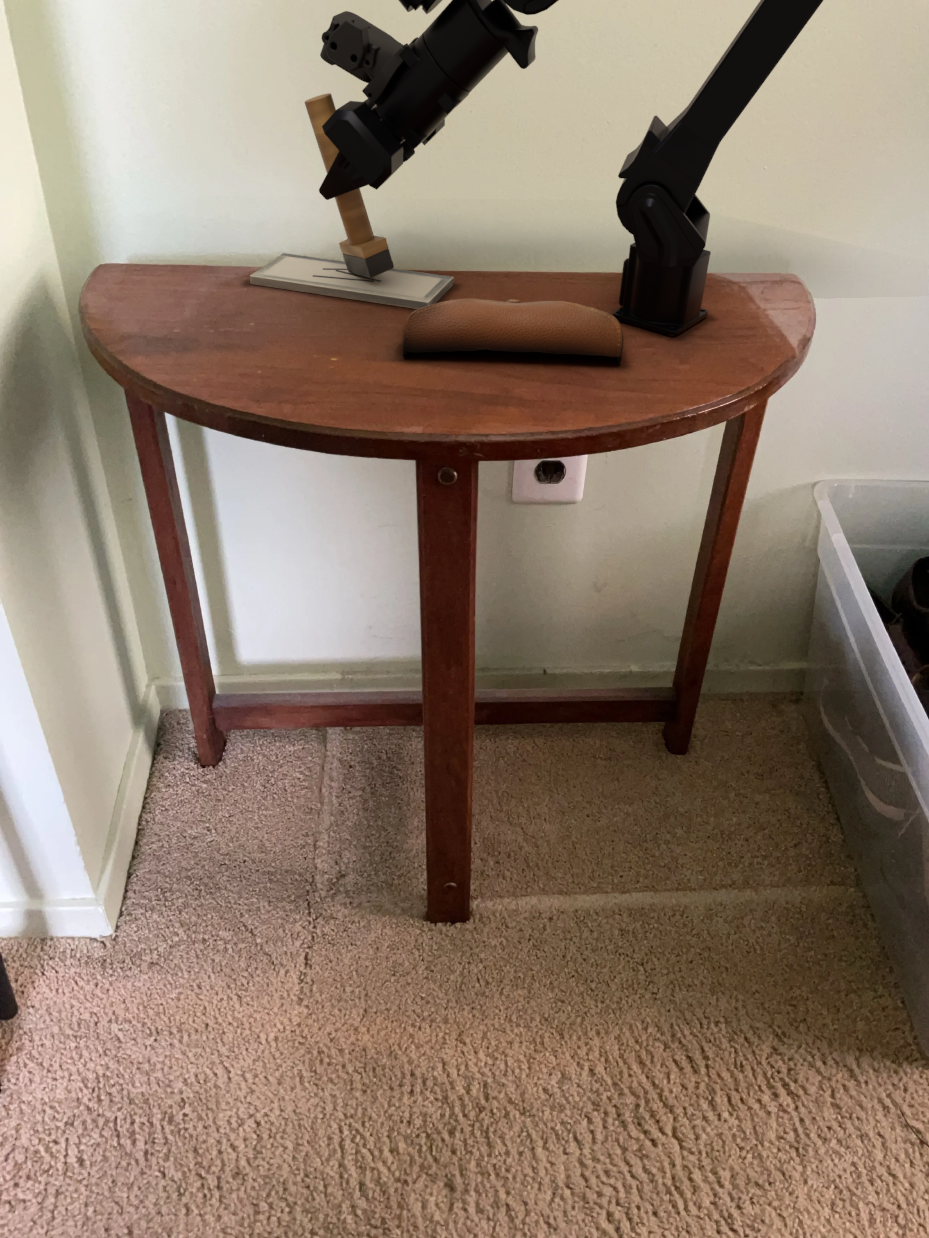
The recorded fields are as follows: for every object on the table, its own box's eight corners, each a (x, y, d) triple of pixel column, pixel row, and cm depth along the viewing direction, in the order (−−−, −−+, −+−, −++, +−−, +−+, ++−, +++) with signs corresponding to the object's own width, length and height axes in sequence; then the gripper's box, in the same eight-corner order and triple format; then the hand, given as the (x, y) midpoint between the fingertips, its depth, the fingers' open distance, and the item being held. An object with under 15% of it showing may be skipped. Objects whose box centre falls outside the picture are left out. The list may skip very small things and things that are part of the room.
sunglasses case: (613, 322, 87) (624, 271, 81) (614, 391, 84) (627, 343, 78) (408, 316, 87) (404, 264, 81) (404, 384, 85) (399, 336, 78)
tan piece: (394, 267, 92) (342, 92, 83) (370, 278, 91) (316, 102, 82) (371, 262, 96) (319, 93, 87) (347, 272, 95) (293, 103, 86)
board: (453, 285, 95) (453, 276, 94) (428, 311, 90) (428, 302, 89) (283, 260, 99) (283, 252, 99) (250, 284, 94) (249, 275, 93)
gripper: (410, -37, 85) (299, 96, 94) (341, -12, 71) (218, 142, 80) (495, 73, 89) (381, 190, 98) (446, 117, 75) (317, 250, 83)
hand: (327, 191), depth 90 cm, fingers closed on tan piece, 2 cm apart
